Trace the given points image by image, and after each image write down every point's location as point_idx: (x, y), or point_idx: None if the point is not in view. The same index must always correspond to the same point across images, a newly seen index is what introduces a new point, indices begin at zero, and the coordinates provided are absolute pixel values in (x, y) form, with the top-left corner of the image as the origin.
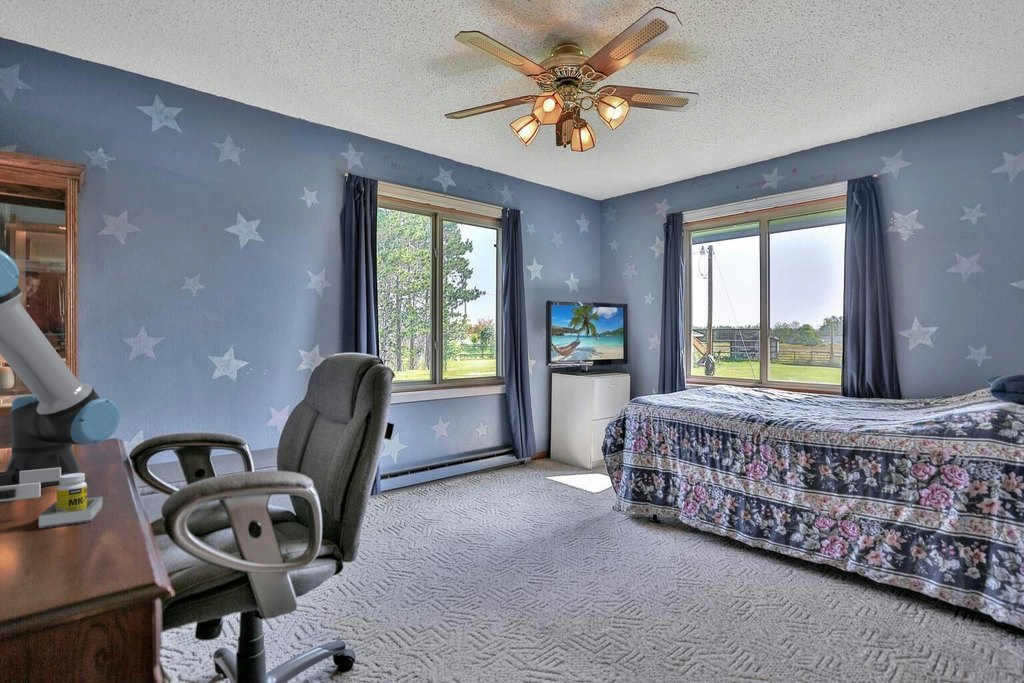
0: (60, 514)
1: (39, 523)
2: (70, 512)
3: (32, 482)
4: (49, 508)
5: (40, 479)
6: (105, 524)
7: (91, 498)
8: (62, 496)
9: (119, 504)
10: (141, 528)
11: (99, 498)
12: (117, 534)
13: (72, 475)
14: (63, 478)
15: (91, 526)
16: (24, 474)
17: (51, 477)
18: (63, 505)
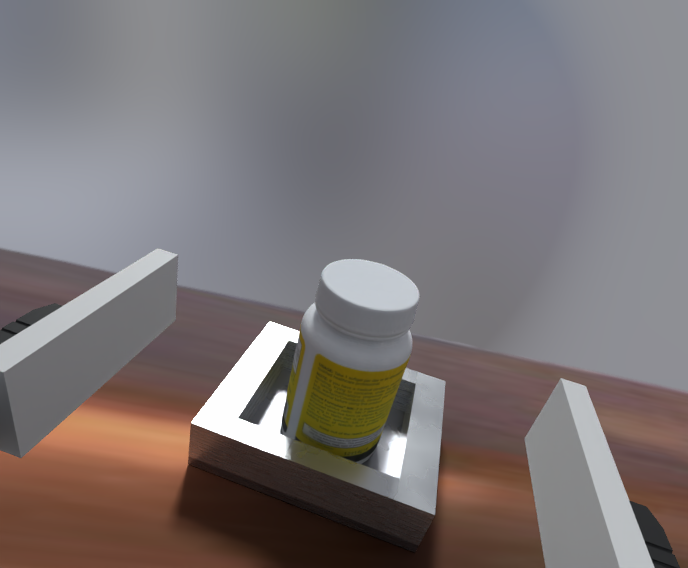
0: (438, 452)
1: (423, 535)
2: (440, 425)
3: (86, 395)
4: (311, 460)
5: (114, 356)
6: (486, 400)
7: (268, 342)
8: (394, 387)
9: (265, 325)
10: (569, 368)
11: (294, 332)
12: (604, 408)
13: (378, 283)
14: (409, 311)
15: (488, 426)
16: (40, 372)
17: (154, 320)
18: (385, 417)
